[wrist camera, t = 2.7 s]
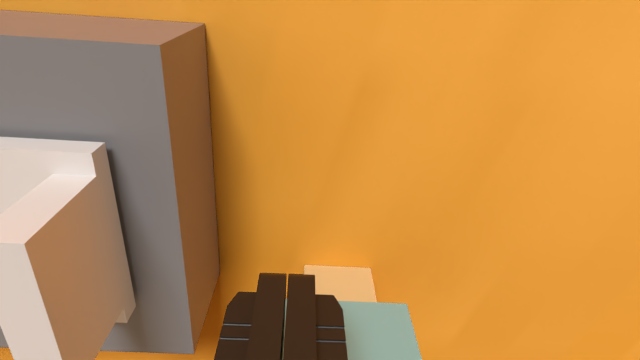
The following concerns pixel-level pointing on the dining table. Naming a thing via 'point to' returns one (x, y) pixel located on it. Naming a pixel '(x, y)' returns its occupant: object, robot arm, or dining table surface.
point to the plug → (366, 315)
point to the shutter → (60, 249)
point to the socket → (129, 150)
